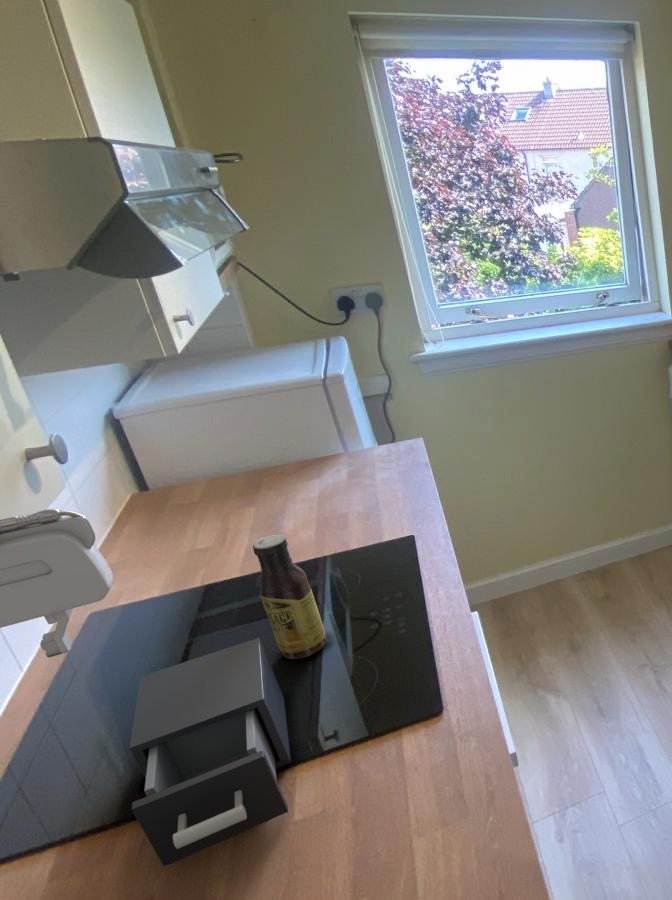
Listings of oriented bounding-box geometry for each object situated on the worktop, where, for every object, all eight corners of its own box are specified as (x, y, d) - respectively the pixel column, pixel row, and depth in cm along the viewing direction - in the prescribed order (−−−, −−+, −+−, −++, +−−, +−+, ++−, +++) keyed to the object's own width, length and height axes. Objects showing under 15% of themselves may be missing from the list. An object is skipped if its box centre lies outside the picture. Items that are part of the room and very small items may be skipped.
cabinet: (291, 763, 94) (263, 698, 90) (165, 815, 87) (128, 748, 83) (283, 697, 105) (259, 637, 101) (171, 739, 98) (139, 676, 94)
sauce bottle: (273, 657, 113) (228, 547, 105) (309, 632, 119) (270, 526, 110) (303, 666, 111) (260, 555, 103) (339, 640, 117) (301, 533, 108)
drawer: (290, 838, 83) (265, 781, 79) (161, 897, 77) (127, 839, 73) (281, 741, 96) (259, 688, 93) (170, 785, 90) (141, 731, 87)
